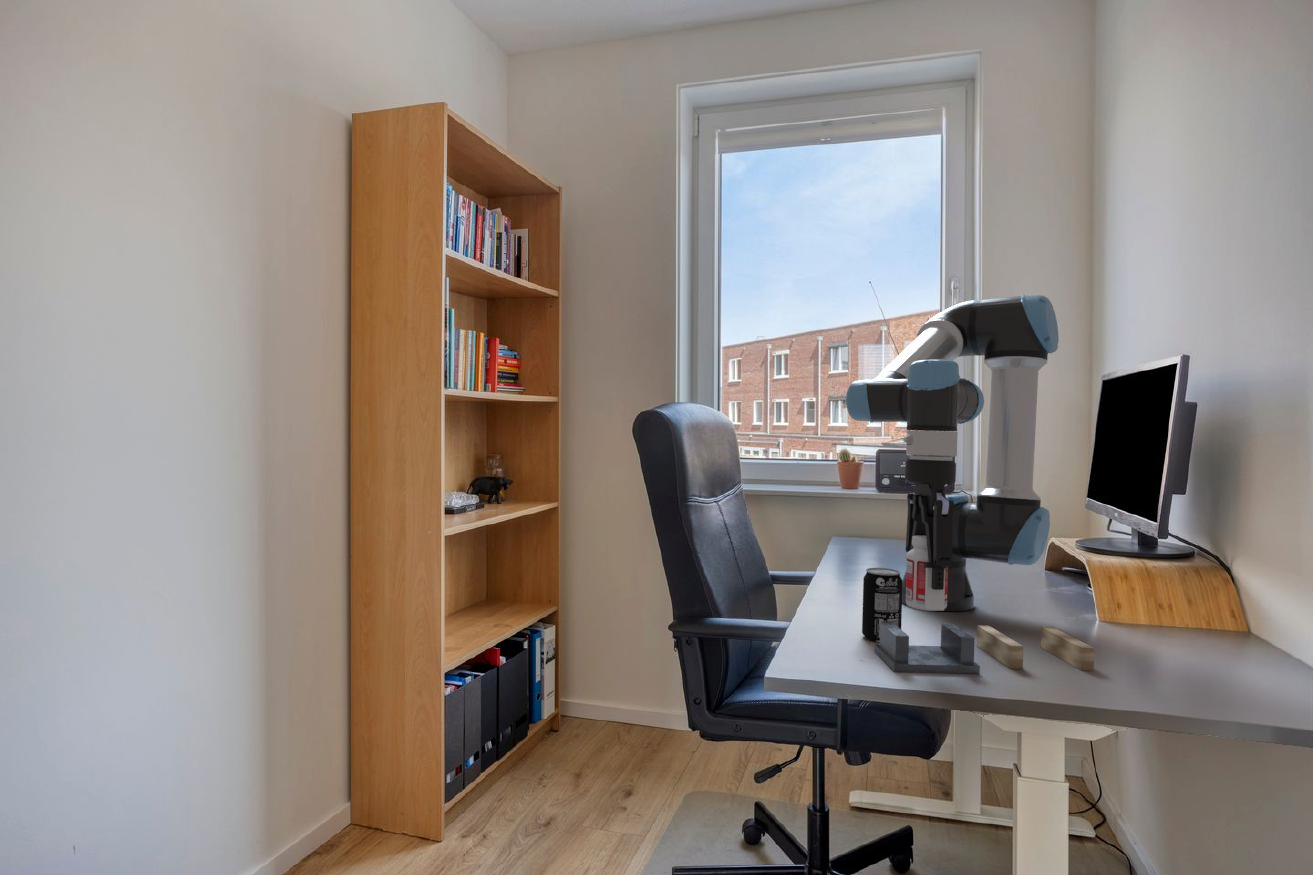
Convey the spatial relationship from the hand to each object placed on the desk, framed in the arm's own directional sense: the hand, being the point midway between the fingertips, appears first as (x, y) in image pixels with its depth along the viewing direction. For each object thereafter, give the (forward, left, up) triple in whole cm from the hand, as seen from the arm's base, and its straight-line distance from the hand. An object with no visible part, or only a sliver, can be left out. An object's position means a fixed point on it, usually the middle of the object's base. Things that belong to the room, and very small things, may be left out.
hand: (926, 604), depth 116 cm
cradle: (0, 0, -9) cm, 9 cm away
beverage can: (-13, -3, -10) cm, 16 cm away
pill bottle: (0, 0, -1) cm, 1 cm away
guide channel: (-4, +19, -9) cm, 22 cm away
